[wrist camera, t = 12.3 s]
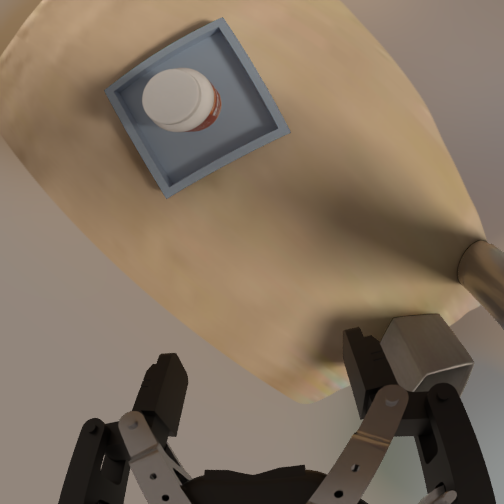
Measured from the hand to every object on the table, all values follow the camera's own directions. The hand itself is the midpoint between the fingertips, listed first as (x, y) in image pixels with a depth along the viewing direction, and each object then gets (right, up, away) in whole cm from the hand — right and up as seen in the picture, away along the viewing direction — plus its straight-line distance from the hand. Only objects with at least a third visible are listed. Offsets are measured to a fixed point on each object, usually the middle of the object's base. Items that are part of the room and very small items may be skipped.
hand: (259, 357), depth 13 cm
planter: (+26, -9, +32) cm, 42 cm away
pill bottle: (-7, +22, +16) cm, 28 cm away
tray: (-7, +22, +17) cm, 28 cm away
